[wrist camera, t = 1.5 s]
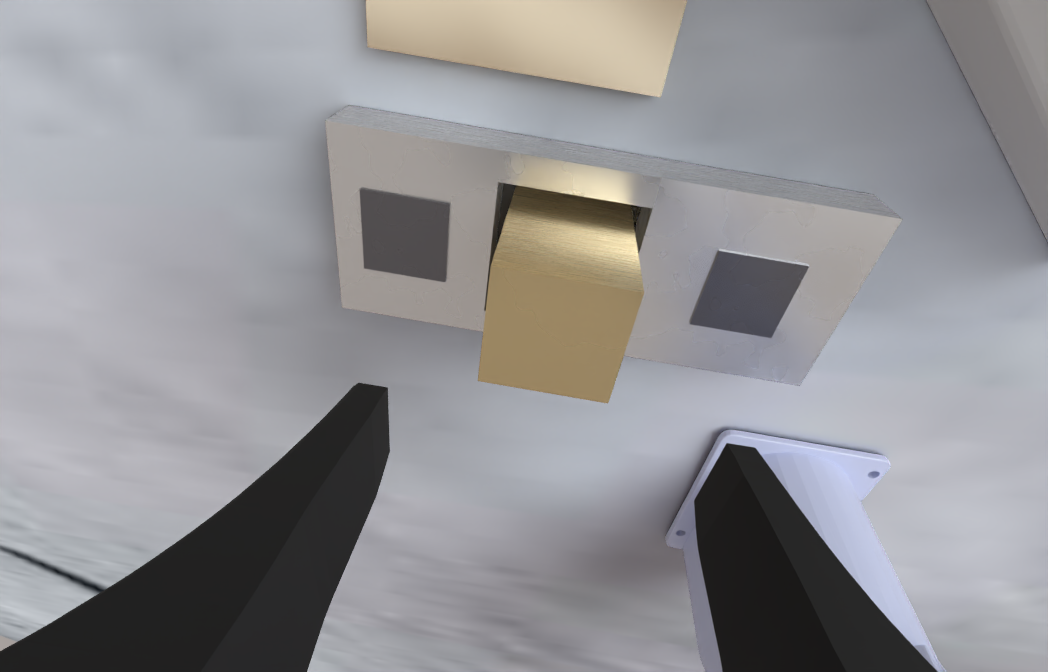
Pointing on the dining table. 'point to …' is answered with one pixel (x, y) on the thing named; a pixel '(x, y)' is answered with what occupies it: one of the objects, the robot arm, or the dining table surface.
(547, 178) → the grey peg hole board
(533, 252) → the brass peg
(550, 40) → the birch pad
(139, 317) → the dining table surface
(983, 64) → the grey rounded upright block
